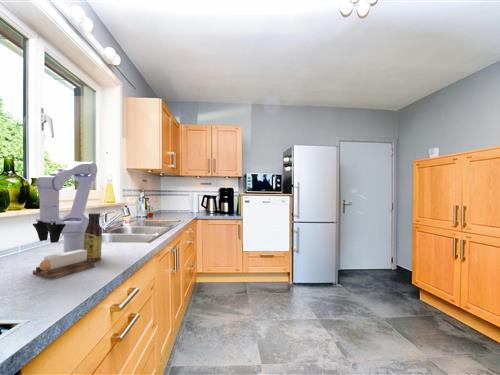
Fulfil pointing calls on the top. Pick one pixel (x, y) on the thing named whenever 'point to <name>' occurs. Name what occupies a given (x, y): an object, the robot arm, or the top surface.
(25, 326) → the top surface
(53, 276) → the jig
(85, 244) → the sauce bottle
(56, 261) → the white post with dome
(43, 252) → the top surface
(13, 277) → the top surface
